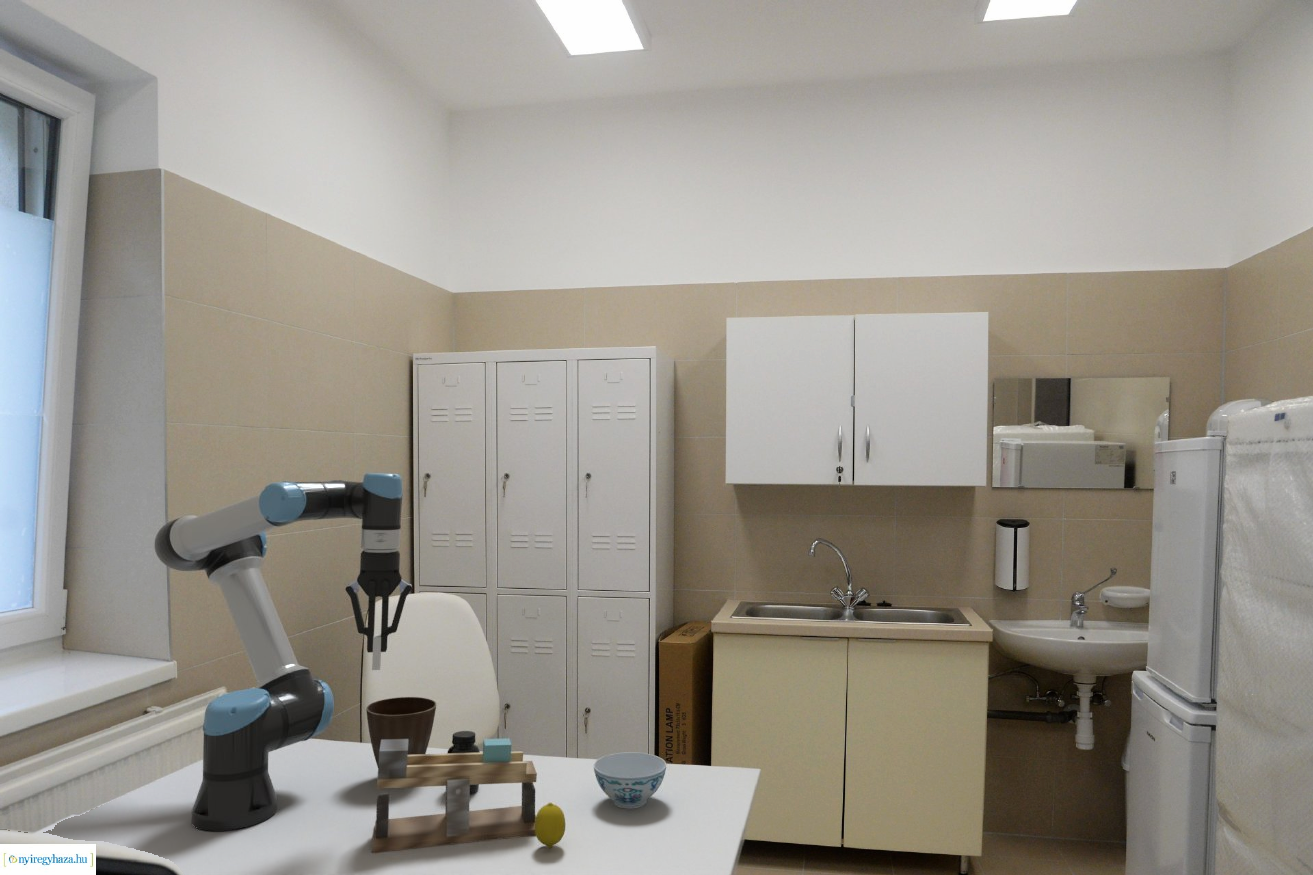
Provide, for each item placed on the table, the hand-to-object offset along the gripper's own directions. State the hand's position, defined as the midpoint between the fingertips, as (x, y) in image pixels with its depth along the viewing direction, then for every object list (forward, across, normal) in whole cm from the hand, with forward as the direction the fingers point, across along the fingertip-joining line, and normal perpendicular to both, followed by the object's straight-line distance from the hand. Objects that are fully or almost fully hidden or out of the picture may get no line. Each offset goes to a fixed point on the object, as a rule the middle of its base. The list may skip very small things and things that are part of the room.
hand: (376, 668), depth 171 cm
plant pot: (+29, +5, +18) cm, 35 cm away
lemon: (+28, +32, -25) cm, 49 cm away
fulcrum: (+28, +16, -13) cm, 35 cm away
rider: (+17, +23, -12) cm, 31 cm away
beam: (+19, +16, -12) cm, 28 cm away
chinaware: (+28, +51, -8) cm, 59 cm away
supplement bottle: (+29, +18, +7) cm, 35 cm away
